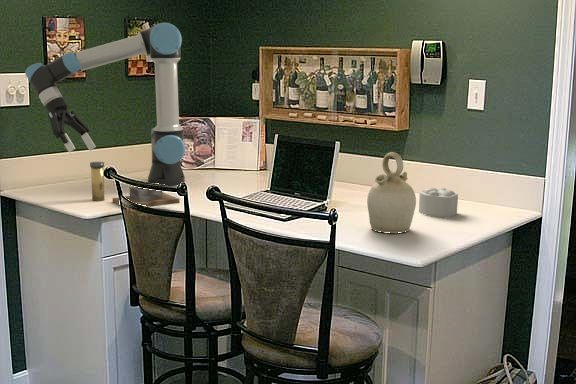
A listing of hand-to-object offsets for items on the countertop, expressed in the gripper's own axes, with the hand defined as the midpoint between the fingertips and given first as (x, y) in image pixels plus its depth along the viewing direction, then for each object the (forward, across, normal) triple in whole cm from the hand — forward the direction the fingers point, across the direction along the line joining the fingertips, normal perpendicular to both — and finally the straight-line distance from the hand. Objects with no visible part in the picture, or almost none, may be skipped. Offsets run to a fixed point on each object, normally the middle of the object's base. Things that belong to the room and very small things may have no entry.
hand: (82, 149), depth 274 cm
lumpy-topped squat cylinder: (+89, -23, +93) cm, 131 cm away
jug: (+84, +6, +83) cm, 118 cm away
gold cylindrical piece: (+19, 0, -5) cm, 20 cm away
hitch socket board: (+29, -2, +10) cm, 31 cm away
